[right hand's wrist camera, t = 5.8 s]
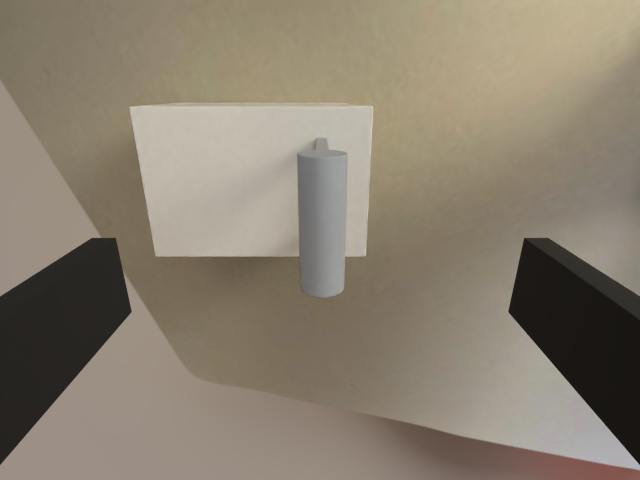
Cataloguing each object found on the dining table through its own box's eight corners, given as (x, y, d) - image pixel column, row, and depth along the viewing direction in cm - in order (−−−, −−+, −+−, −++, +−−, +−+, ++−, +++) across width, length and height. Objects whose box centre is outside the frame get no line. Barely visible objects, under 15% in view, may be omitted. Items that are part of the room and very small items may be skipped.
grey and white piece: (370, 105, 23) (402, 113, 14) (363, 249, 27) (386, 327, 18) (138, 105, 23) (25, 113, 14) (162, 249, 27) (84, 328, 18)
